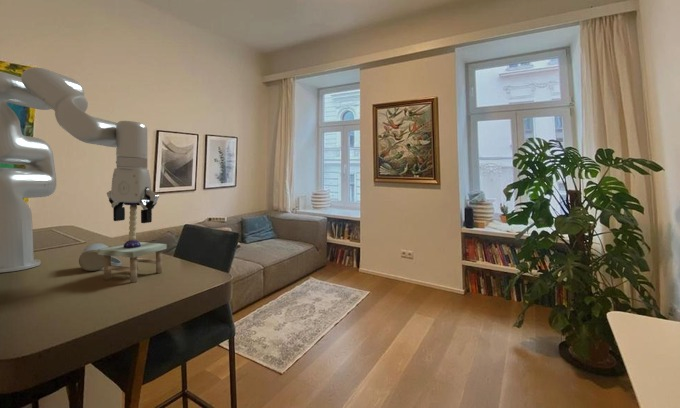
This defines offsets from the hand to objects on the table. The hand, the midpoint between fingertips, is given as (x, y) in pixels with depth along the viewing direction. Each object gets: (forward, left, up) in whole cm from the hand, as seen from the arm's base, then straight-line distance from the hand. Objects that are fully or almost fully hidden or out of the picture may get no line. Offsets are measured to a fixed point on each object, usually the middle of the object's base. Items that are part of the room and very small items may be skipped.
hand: (132, 221), depth 88 cm
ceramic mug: (-17, +4, -17) cm, 24 cm away
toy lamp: (0, 0, -8) cm, 8 cm away
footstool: (0, 0, -17) cm, 17 cm away
